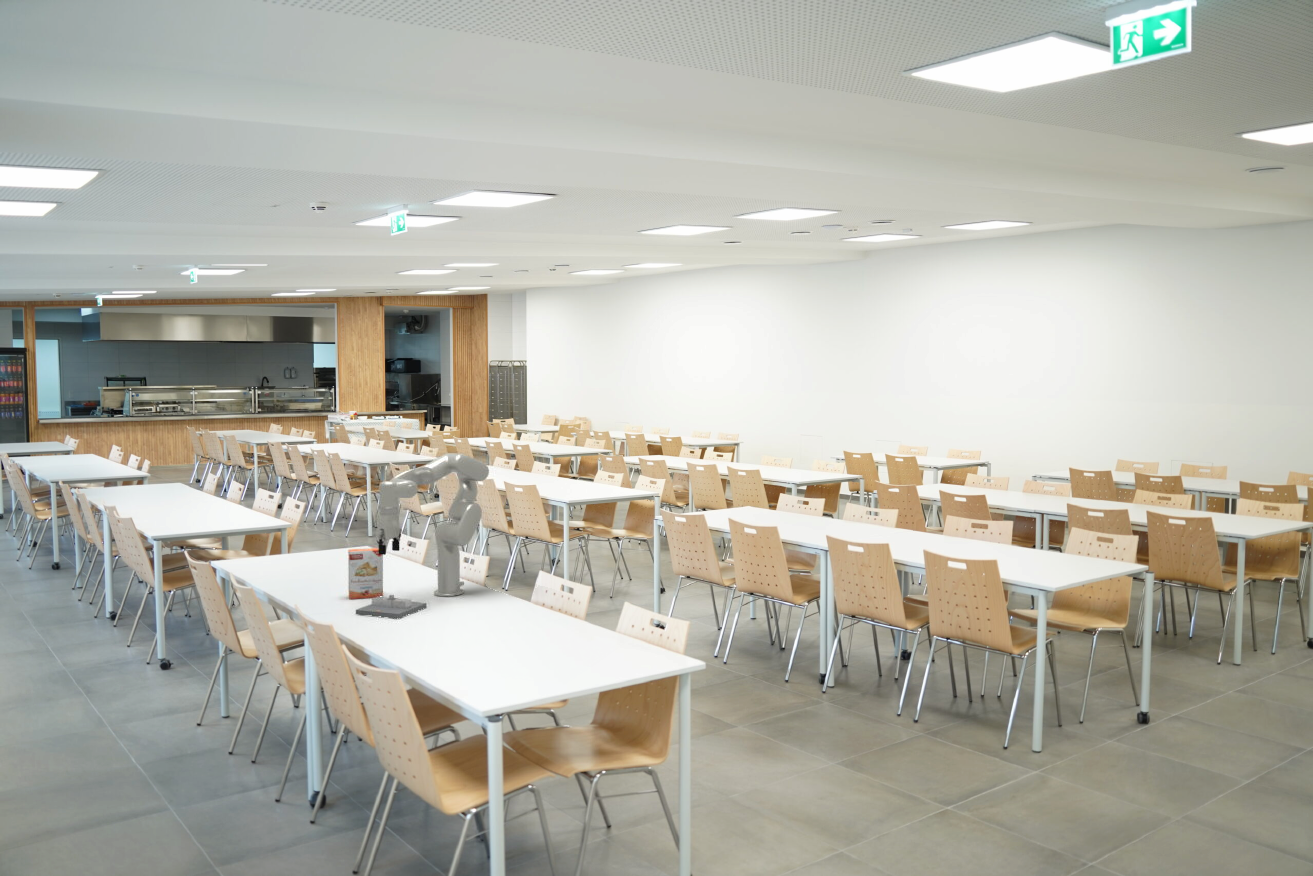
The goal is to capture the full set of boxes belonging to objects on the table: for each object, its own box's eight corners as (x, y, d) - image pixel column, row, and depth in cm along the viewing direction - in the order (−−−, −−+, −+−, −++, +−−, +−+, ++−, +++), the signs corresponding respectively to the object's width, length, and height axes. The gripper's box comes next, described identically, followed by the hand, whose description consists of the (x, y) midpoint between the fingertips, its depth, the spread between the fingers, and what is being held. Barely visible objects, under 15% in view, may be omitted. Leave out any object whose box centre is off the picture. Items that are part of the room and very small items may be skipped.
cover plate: (384, 603, 412) (384, 588, 411) (426, 607, 405) (426, 592, 405) (355, 614, 393) (355, 598, 393) (398, 619, 387) (398, 602, 386)
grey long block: (378, 603, 404) (378, 596, 404) (412, 606, 399) (412, 599, 399) (371, 606, 399) (371, 598, 399) (405, 609, 394) (405, 602, 394)
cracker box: (349, 599, 419) (349, 551, 418) (348, 596, 424) (347, 548, 423) (383, 597, 424) (383, 549, 423) (381, 594, 430) (381, 547, 428)
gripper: (392, 508, 414) (393, 548, 415) (368, 513, 398) (368, 555, 399) (408, 509, 412) (408, 549, 413) (384, 514, 396) (384, 556, 397)
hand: (389, 552), depth 406 cm, fingers open, 9 cm apart
